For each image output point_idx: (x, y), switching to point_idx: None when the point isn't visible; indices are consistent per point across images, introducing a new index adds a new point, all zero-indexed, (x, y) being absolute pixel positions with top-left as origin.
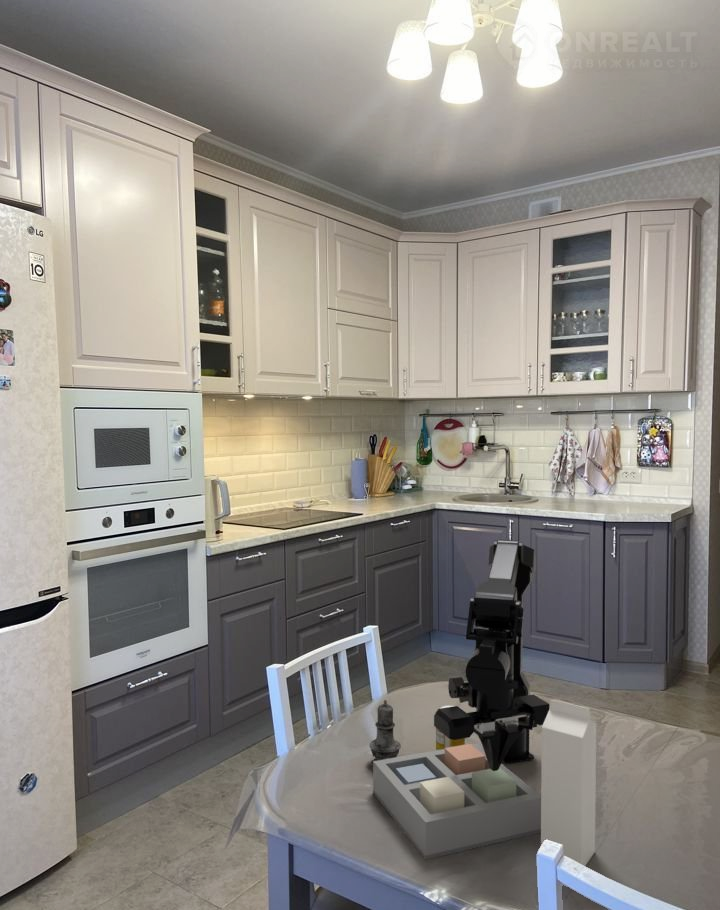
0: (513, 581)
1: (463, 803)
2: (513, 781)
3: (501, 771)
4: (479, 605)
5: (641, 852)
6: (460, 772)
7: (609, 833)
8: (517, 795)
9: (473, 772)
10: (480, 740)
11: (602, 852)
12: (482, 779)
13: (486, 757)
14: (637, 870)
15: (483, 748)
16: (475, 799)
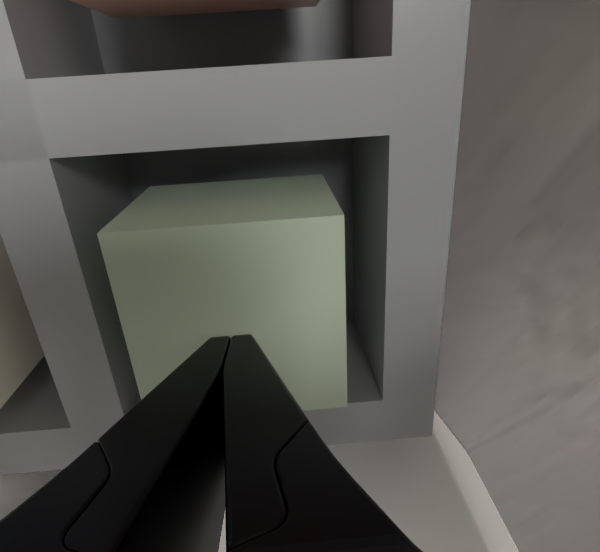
0: None
1: (9, 391)
2: (329, 404)
3: (325, 281)
4: None
5: (580, 474)
6: (95, 4)
7: (584, 392)
8: (372, 288)
9: (109, 238)
10: (6, 525)
11: (485, 456)
12: (142, 343)
13: (162, 384)
14: (504, 521)
15: (102, 439)
16: (81, 388)
